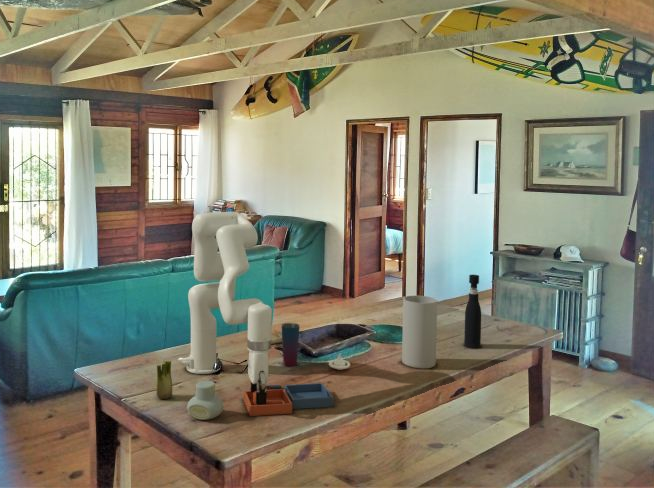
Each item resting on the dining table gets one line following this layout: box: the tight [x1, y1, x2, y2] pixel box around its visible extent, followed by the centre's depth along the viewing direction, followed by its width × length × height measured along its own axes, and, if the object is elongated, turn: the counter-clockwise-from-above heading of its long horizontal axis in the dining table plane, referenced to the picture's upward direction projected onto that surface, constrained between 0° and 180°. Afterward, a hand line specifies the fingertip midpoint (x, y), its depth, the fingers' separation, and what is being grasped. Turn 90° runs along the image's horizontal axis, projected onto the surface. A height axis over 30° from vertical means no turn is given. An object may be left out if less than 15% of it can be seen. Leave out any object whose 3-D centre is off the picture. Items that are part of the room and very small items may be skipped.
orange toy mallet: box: [253, 391, 282, 406], centre depth 190 cm, size 9×4×4 cm, turn 100°
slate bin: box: [283, 382, 334, 410], centre depth 195 cm, size 13×12×3 cm
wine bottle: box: [463, 274, 482, 349], centre depth 252 cm, size 6×6×30 cm
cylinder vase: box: [401, 295, 438, 370], centre depth 230 cm, size 12×12×25 cm
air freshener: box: [186, 380, 224, 421], centre depth 183 cm, size 11×8×10 cm
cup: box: [281, 322, 300, 367], centre depth 229 cm, size 7×7×15 cm
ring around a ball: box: [328, 353, 351, 371], centre depth 224 cm, size 8×6×8 cm
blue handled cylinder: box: [266, 384, 282, 390], centre depth 204 cm, size 9×4×4 cm, turn 100°
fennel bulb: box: [155, 360, 173, 400], centre depth 196 cm, size 6×5×12 cm
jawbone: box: [271, 329, 282, 345], centre depth 257 cm, size 9×20×2 cm, turn 161°
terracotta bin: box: [243, 388, 293, 417], centre depth 190 cm, size 13×12×3 cm
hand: (258, 397), depth 190 cm, fingers open, 9 cm apart
